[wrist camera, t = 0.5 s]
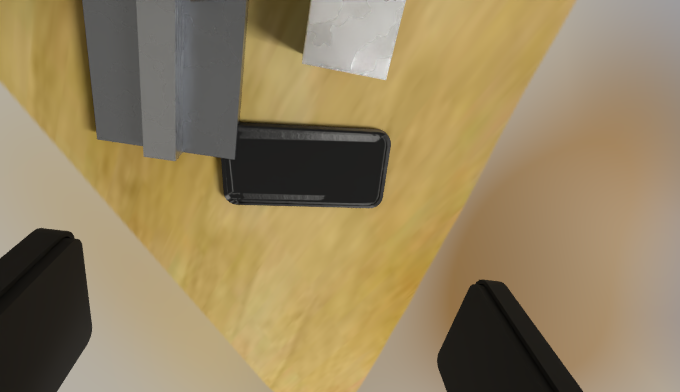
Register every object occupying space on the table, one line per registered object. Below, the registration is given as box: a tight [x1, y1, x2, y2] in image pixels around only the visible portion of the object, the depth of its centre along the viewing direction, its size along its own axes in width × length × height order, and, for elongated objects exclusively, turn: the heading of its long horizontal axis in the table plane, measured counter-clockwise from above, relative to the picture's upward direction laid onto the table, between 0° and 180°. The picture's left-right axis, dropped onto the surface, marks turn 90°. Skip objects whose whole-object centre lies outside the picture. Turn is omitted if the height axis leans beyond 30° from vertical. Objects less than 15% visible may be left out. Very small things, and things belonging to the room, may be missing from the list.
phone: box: [221, 122, 391, 208], centre depth 34 cm, size 8×1×15 cm
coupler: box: [82, 0, 249, 161], centre depth 24 cm, size 16×11×9 cm
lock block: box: [302, 0, 406, 80], centre depth 26 cm, size 6×7×5 cm
